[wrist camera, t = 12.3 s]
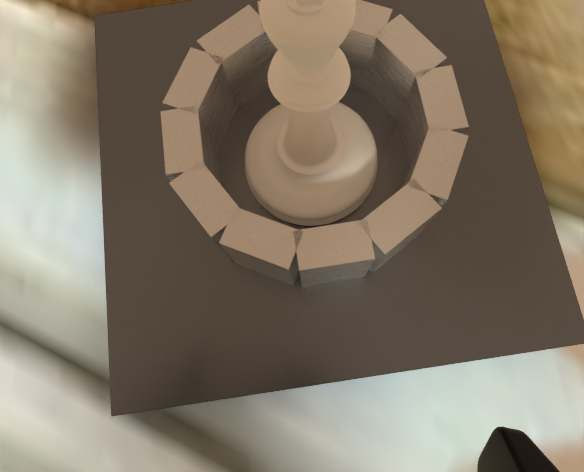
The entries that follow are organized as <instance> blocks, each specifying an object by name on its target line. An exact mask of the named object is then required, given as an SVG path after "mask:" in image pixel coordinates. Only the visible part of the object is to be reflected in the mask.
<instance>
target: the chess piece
mask: <svg viewBox="0 0 584 472" xmlns="http://www.w3.org/2000/svg"><path fill="white" fill-rule="evenodd" d="M259 13H260V19H261V23H262V26H263V28H264V30H265V32H266V34H267V35H268V37H269V39H270V40H271V42H272V43H273V44H274V45H275V47H276V48H277V49H278V51H277V52H276V53H275V55H274V56H273V58H272V61H271V64H270V66H269V70H268V84H269V88H270V90H271V92H272V94H273V96H274V97H275V98H276V99H277V101H278V102H280V103H281V104H280V105H278V106H276V107H274V108H273V109H271V110H270V111H269V112H268V113H266V114H265V115H264V116H263V117H262V118H261V119H260V120H259V122H258V123H257V124H256V126H255V127H254V129H253V130H252V132H251V134H250V137H249V139H248V142H247V146H246V151H245V172H246V178H247V182H248V185H249V187H250V189H251V192H252V193H253V195H254V197H255V198H256V200H257V201H258V202H259V203H260V204H261V206H262V207H263V208H265V209H266V210H267V211H268V212H269V213H271V214H272V215H274V216H275V217H277V218H279V219H281V220H283V221H286V222H289V223H292V224H296V225H303V226H318V225H325V224H329V223H332V222H335V221H338V220H340V219H342V218H344V217H346V216H348V215H349V214H351V213H352V212H353V211H355V210H356V209H357V208H358V207H359V206H360V205H361V204H362V203H363V202H364V201H365V199H366V198H367V196H368V195H369V193H370V191H371V189H372V187H373V185H374V182H375V179H376V175H377V166H378V162H377V148H376V143H375V140H374V137H373V135H372V132H371V131H370V129H369V127H368V125H367V124H366V123H365V121H364V120H363V119H362V118H361V117H360V116H359V115H358V114H357V113H356V112H355V111H353V110H352V109H351V108H349V107H347V106H346V105H344V104H342V103H340V102H339V101H340V100H341V99H342V97H343V96H344V95H345V93H346V91H347V89H348V87H349V84H350V78H351V72H350V67H349V64H348V61H347V59H346V57H345V55H344V53H343V52H342V50H341V49H340V48H339V46H340V45H341V44H342V42H343V41H344V39H345V38H346V36H347V34H348V33H349V31H350V29H351V27H352V24H353V22H354V18H355V14H356V2H355V0H261V1H260V8H259Z"/></svg>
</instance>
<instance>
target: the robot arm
mask: <svg viewBox="0 0 584 472" xmlns="http://www.w3.org/2000/svg"><path fill="white" fill-rule="evenodd" d="M477 470H478V472H560V471H559V470H558V469H557V468H556V467H555V466H554V465H553V463H552V462H551V461H550V460H549V459H548V458H547V457H546V456H545V455H544V454H543V452H542V451H541V450H540V449H539V448H538V447H537V446H536V445H535V444H534V442H533V441H532V440H531V439H530V438H529V437H528V436H527V435H526V434H525V433H524V432H522V431H520V430H515V429H510V428H505V427H497V428H496V429H494V431H493V432H492V434H491V436H490V438H489V440H488V442H487V443H486V445H485V447H484V449H483V451H482V453H481V455H480V457H479V460H478V469H477Z"/></svg>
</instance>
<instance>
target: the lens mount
mask: <svg viewBox="0 0 584 472" xmlns="http://www.w3.org/2000/svg"><path fill="white" fill-rule="evenodd" d="M260 1H261V0H192V1H185V2H179V3H173V4H167V5H160V6H154V7H148V8H142V9H135V10H129V11H123V12H117V13H111V14H104V15H98V16H95V39H96V63H97V87H98V110H99V134H100V157H101V181H102V204H103V228H104V251H105V275H106V299H107V322H108V346H109V369H110V393H111V416H117V415H124V414H130V413H137V412H143V411H150V410H156V409H163V408H169V407H176V406H182V405H189V404H195V403H202V402H208V401H214V400H221V399H227V398H234V397H240V396H247V395H253V394H260V393H266V392H273V391H279V390H286V389H292V388H299V387H305V386H312V385H318V384H325V383H331V382H338V381H344V380H351V379H357V378H364V377H370V376H377V375H383V374H390V373H396V372H403V371H409V370H416V369H422V368H429V367H435V366H442V365H448V364H455V363H461V362H468V361H474V360H481V359H487V358H494V357H500V356H507V355H513V354H520V353H526V352H533V351H539V350H546V349H552V348H559V347H565V346H572V345H578V344H584V319H583V316H582V313H581V310H580V306H579V303H578V300H577V297H576V294H575V290H574V287H573V284H572V281H571V278H570V274H569V271H568V268H567V265H566V262H565V258H564V255H563V252H562V249H561V246H560V242H559V239H558V236H557V233H556V230H555V226H554V223H553V220H552V217H551V214H550V210H549V207H548V204H547V201H546V198H545V194H544V191H543V188H542V185H541V182H540V178H539V175H538V172H537V169H536V166H535V162H534V159H533V156H532V153H531V150H530V146H529V143H528V140H527V137H526V134H525V130H524V127H523V124H522V121H521V118H520V114H519V111H518V108H517V105H516V101H515V98H514V95H513V92H512V89H511V85H510V82H509V79H508V76H507V73H506V69H505V66H504V63H503V60H502V57H501V53H500V50H499V47H498V44H497V41H496V37H495V34H494V31H493V28H492V25H491V21H490V18H489V15H488V12H487V9H486V5H485V2H484V0H355V2H356V14H355V18H354V22H353V24H352V27H351V29H350V31H349V33H348V34H347V36H346V38H345V39H344V41H343V42H342V44H341V45H340V46H339V48H340V49H341V50H342V52H343V53H344V55H345V57H346V59H347V61H348V64H349V67H350V72H351V78H350V84H349V87H348V89H347V91H346V93H345V95H344V96H343V97H342V99H341V100H340V101H339V102H340V103H342V104H344V105H346V106H347V107H349V108H351V109H352V110H353V111H355V112H356V113H357V114H358V115H359V116H360V117H361V118H362V119H363V120H364V121H365V123H366V124H367V125H368V127H369V129H370V131H371V132H372V135H373V137H374V140H375V143H376V148H377V162H378V166H377V175H376V179H375V182H374V185H373V187H372V189H371V191H370V193H369V195H368V196H367V198H366V199H365V201H364V202H363V203H362V204H361V205H360V206H359V207H358V208H357V209H356V210H355V211H353V212H352V213H351V214H349V215H348V216H346V217H344V218H342V219H340V220H338V221H335V222H332V223H329V224H325V225H318V226H303V225H296V224H292V223H289V222H286V221H283V220H281V219H279V218H277V217H275V216H274V215H272V214H271V213H269V212H268V211H267V210H266V209H265V208H263V207H262V206H261V204H260V203H259V202H258V201H257V200H256V198H255V197H254V195H253V193H252V192H251V189H250V187H249V185H248V182H247V178H246V172H245V151H246V146H247V142H248V139H249V137H250V134H251V132H252V130H253V129H254V127H255V126H256V124H257V123H258V122H259V120H260V119H261V118H262V117H263V116H264V115H265V114H266V113H268V112H269V111H270V110H271V109H273V108H274V107H276V106H278V105H280V104H281V103H280V102H278V101H277V99H276V98H275V97H274V96H273V94H272V92H271V90H270V88H269V84H268V70H269V66H270V64H271V61H272V58H273V56H274V55H275V53H276V52H277V51H278V49H277V48H276V47H275V45H274V44H273V43H272V42H271V40H270V39H269V37H268V35H267V34H266V32H265V30H264V28H263V26H262V23H261V19H260V13H259V8H260Z"/></svg>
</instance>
